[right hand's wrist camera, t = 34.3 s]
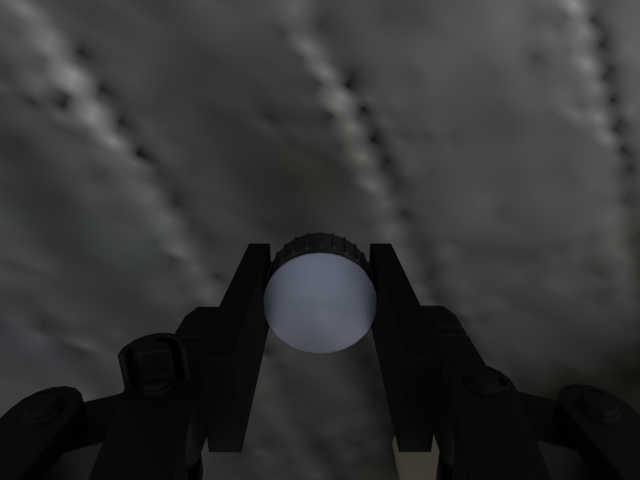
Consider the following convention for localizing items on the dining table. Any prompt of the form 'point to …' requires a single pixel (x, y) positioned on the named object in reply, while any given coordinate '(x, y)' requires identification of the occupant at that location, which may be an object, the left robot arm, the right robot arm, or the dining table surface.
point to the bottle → (416, 463)
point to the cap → (320, 294)
